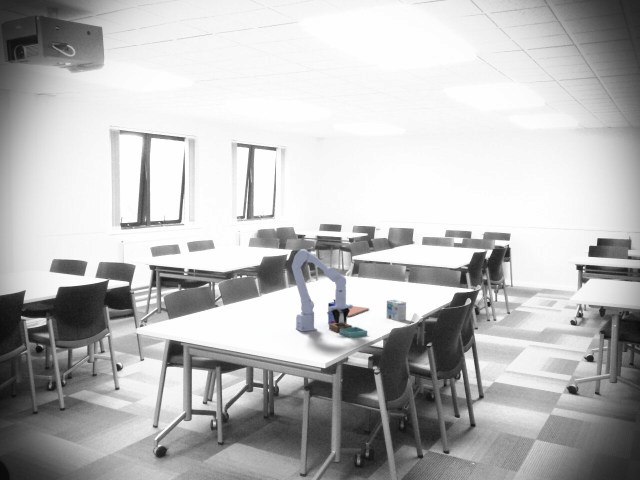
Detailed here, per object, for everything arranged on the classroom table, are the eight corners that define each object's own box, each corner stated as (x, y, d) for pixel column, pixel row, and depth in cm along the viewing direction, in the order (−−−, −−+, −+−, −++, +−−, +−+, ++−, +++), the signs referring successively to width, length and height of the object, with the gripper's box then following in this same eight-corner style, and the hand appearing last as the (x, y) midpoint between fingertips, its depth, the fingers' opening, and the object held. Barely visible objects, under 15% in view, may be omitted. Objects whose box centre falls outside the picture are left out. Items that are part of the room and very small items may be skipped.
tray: (350, 337, 292) (350, 333, 292) (339, 333, 301) (339, 328, 301) (367, 335, 297) (367, 330, 297) (356, 331, 306) (356, 326, 306)
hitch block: (337, 332, 302) (337, 327, 302) (329, 329, 310) (329, 323, 310) (351, 330, 307) (351, 325, 307) (342, 327, 315) (342, 322, 314)
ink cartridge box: (327, 323, 324) (327, 298, 323) (333, 322, 328) (333, 297, 327) (341, 326, 317) (341, 301, 316) (347, 324, 322) (347, 299, 321)
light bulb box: (386, 318, 341) (386, 300, 340) (394, 316, 345) (394, 299, 344) (397, 321, 332) (398, 303, 331) (406, 320, 336) (406, 302, 335)
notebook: (346, 307, 374) (346, 304, 374) (369, 310, 365) (369, 307, 365) (325, 314, 351) (325, 311, 351) (349, 318, 342) (349, 314, 342)
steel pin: (339, 331, 306) (339, 313, 305) (335, 329, 309) (335, 311, 308) (345, 330, 308) (345, 312, 307) (341, 329, 311) (341, 311, 310)
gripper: (333, 300, 300) (332, 325, 301) (355, 298, 307) (355, 322, 308) (326, 298, 306) (326, 322, 307) (348, 296, 313) (348, 320, 314)
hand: (340, 322), depth 308 cm, fingers closed on steel pin, 4 cm apart
